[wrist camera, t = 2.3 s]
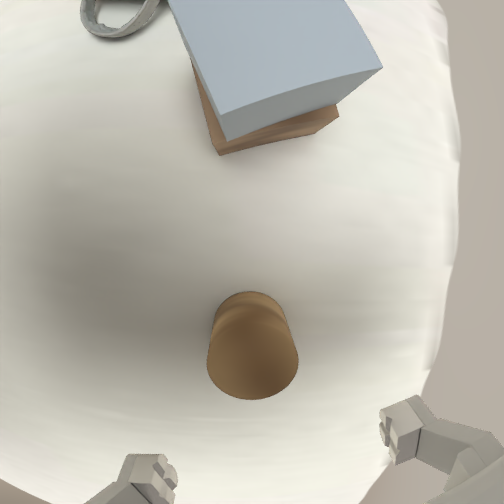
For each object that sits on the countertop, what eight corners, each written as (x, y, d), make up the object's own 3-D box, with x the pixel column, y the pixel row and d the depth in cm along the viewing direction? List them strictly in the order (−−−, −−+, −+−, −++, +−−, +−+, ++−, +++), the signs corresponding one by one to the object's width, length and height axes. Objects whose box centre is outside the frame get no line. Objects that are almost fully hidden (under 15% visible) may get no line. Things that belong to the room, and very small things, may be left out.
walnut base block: (219, 155, 18) (212, 143, 13) (197, 70, 16) (184, 35, 11) (314, 133, 17) (339, 116, 13) (288, 51, 16) (302, 13, 11)
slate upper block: (226, 141, 13) (220, 115, 8) (184, 45, 12) (163, -11, 7) (337, 103, 12) (383, 67, 8) (289, 13, 11) (309, -46, 6)
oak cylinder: (225, 361, 20) (222, 406, 15) (204, 301, 19) (194, 337, 14) (291, 345, 20) (305, 388, 15) (276, 283, 19) (288, 314, 14)
